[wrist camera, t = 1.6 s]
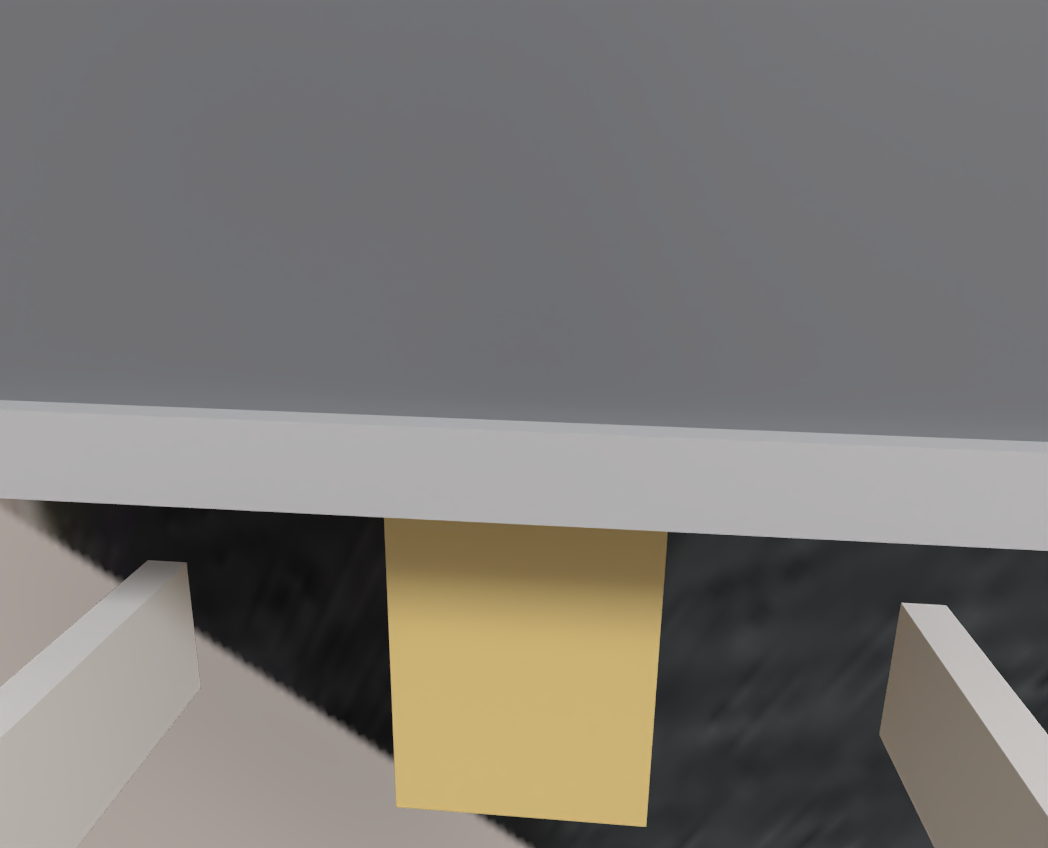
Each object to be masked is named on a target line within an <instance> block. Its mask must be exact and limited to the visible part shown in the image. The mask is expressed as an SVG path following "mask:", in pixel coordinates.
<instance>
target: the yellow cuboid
mask: <svg viewBox="0 0 1048 848" xmlns="http://www.w3.org/2000/svg"><path fill="white" fill-rule="evenodd" d="M384 530H385V553H386V577H387V601H388V624H389V648H390V672H391V695H392V719H393V743H394V766H395V790H396V807H401V808H413V809H426V810H439V811H451V812H464V813H477V814H490V815H502V816H515V817H528V818H541V819H553V820H566V821H579V822H591V823H604V824H617V825H630V826H642V827H646V821H647V808H648V794H649V780H650V767H651V753H652V739H653V726H654V712H655V698H656V684H657V671H658V657H659V643H660V630H661V616H662V602H663V588H664V575H665V561H666V547H667V534H668V532H664V531H644V530H624V529H604V528H584V527H564V526H544V525H524V524H504V523H484V522H464V521H445V520H425V519H405V518H385V517H384Z"/></svg>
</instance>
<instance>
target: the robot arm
mask: <svg viewBox="0 0 1048 848" xmlns="http://www.w3.org/2000/svg"><path fill="white" fill-rule="evenodd" d="M200 688H201V684H200V675H199V667H198V658H197V649H196V641H195V632H194V623H193V614H192V606H191V597H190V589H189V580H188V571H187V563H186V562H169V561H152V560H148V561H146V562H145V563H144V564H143V565H142V566H141V567H139V568H138V569H137V570H136V571H135V572H134V573H132V574H131V575H130V576H129V577H128V578H127V579H125V580H124V581H123V582H122V583H121V584H120V585H118V586H117V587H116V588H115V589H114V590H113V591H112V592H110V593H109V594H108V595H107V596H106V597H105V598H103V599H102V600H101V601H100V602H99V603H97V604H96V605H95V606H94V607H93V608H92V609H91V610H89V611H88V612H87V613H86V614H85V615H84V616H82V617H81V618H80V619H79V620H78V621H77V622H75V623H74V624H73V625H72V626H71V627H70V628H68V629H67V630H66V631H65V632H64V633H63V634H61V635H60V636H59V637H58V638H57V639H56V640H54V641H53V642H52V643H51V644H50V645H49V646H48V647H46V648H45V649H44V650H43V651H42V652H41V653H39V654H38V655H37V656H36V657H35V658H33V659H32V660H31V661H30V662H29V663H28V664H27V665H25V666H24V667H23V668H22V669H21V670H20V671H18V672H17V673H16V674H15V675H14V676H13V677H11V678H10V679H9V680H8V681H7V682H6V683H4V684H3V685H2V686H1V687H0V848H77V847H78V846H79V844H80V843H81V842H82V841H83V839H84V838H85V837H86V835H87V834H88V833H89V831H90V830H91V829H92V828H93V826H94V825H95V824H96V822H97V821H98V820H99V818H100V817H101V816H102V815H103V813H104V812H105V811H106V810H107V808H108V807H109V805H110V804H111V803H112V802H113V800H114V799H115V798H116V796H117V795H118V794H119V793H120V792H121V790H122V789H123V788H124V786H125V785H126V784H127V782H128V781H129V780H130V778H131V777H132V776H133V775H134V773H135V772H136V771H137V770H138V768H139V767H140V766H141V764H142V763H143V762H144V761H145V759H146V758H147V757H148V755H149V754H150V753H151V752H152V750H153V749H154V748H155V746H156V745H157V744H158V743H159V741H160V740H161V739H162V737H163V736H164V735H165V733H166V732H167V731H168V730H169V728H170V727H171V726H172V724H173V723H174V722H175V721H176V719H177V718H178V717H179V715H180V714H181V713H182V711H183V710H184V709H185V708H186V706H187V705H188V704H189V702H190V701H191V700H192V699H193V697H194V696H195V695H196V694H197V692H198V691H199V690H200ZM879 735H880V737H881V739H882V741H883V743H884V745H885V747H886V749H887V752H888V754H889V756H890V758H891V760H892V762H893V764H894V766H895V768H896V770H897V772H898V774H899V776H900V778H901V780H902V782H903V784H904V786H905V788H906V790H907V793H908V795H909V797H910V799H911V801H912V803H913V805H914V807H915V809H916V811H917V813H918V815H919V817H920V819H921V821H922V823H923V825H924V827H925V829H926V831H927V834H928V836H929V838H930V840H931V842H932V844H933V846H934V848H1048V734H1047V733H1046V732H1045V731H1044V729H1043V728H1042V727H1041V725H1040V724H1039V723H1038V722H1037V720H1036V719H1035V718H1034V717H1033V715H1032V714H1031V713H1030V711H1029V710H1028V709H1027V708H1026V706H1025V705H1024V704H1023V702H1022V701H1021V700H1020V699H1019V697H1018V696H1017V695H1016V694H1015V692H1014V691H1013V690H1012V688H1011V687H1010V686H1009V685H1008V683H1007V682H1006V681H1005V680H1004V678H1003V677H1002V676H1001V674H1000V673H999V672H998V671H997V669H996V668H995V667H994V666H993V664H992V663H991V662H990V660H989V659H988V658H987V657H986V655H985V654H984V653H983V652H982V650H981V649H980V648H979V646H978V645H977V644H976V643H975V641H974V640H973V639H972V638H971V636H970V635H969V634H968V632H967V631H966V630H965V629H964V627H963V626H962V625H961V624H960V622H959V621H958V620H957V618H956V617H955V616H954V615H953V613H952V612H951V611H950V610H949V608H948V607H947V606H946V605H931V604H913V603H901V607H900V613H899V619H898V625H897V631H896V637H895V643H894V649H893V655H892V661H891V667H890V674H889V680H888V686H887V692H886V698H885V704H884V710H883V716H882V722H881V728H880V734H879Z"/></svg>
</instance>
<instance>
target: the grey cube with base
mask: <svg viewBox="0 0 1048 848" xmlns="http://www.w3.org/2000/svg"><path fill="white" fill-rule="evenodd" d="M0 498H5V499H25V500H45V501H65V502H85V503H105V504H125V505H145V506H165V507H185V508H205V509H225V510H245V511H265V512H285V513H305V514H325V515H345V516H365V517H385V518H405V519H425V520H445V521H464V522H484V523H504V524H524V525H544V526H564V527H584V528H604V529H624V530H644V531H664V532H684V533H704V534H724V535H744V536H764V537H784V538H804V539H824V540H844V541H864V542H884V543H904V544H923V545H943V546H963V547H983V548H1003V549H1023V550H1043V551H1048V0H0Z"/></svg>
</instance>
